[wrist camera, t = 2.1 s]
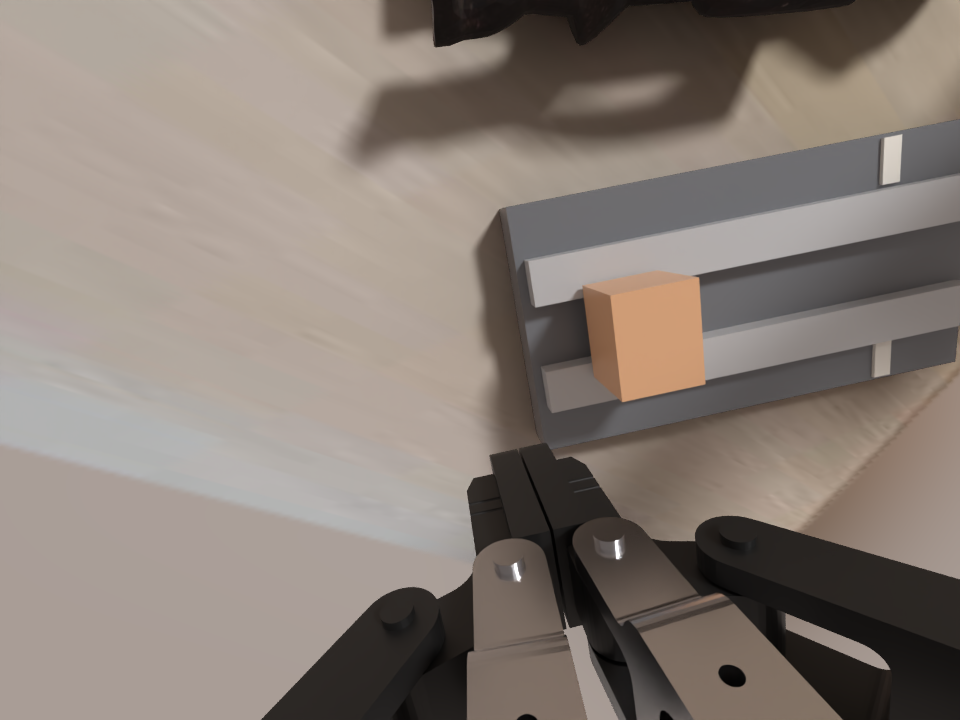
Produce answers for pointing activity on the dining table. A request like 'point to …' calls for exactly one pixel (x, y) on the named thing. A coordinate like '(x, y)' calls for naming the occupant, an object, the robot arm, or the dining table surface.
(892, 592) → the robot arm
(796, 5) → the figurine
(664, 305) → the block
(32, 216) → the dining table surface
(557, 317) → the twin slider track
